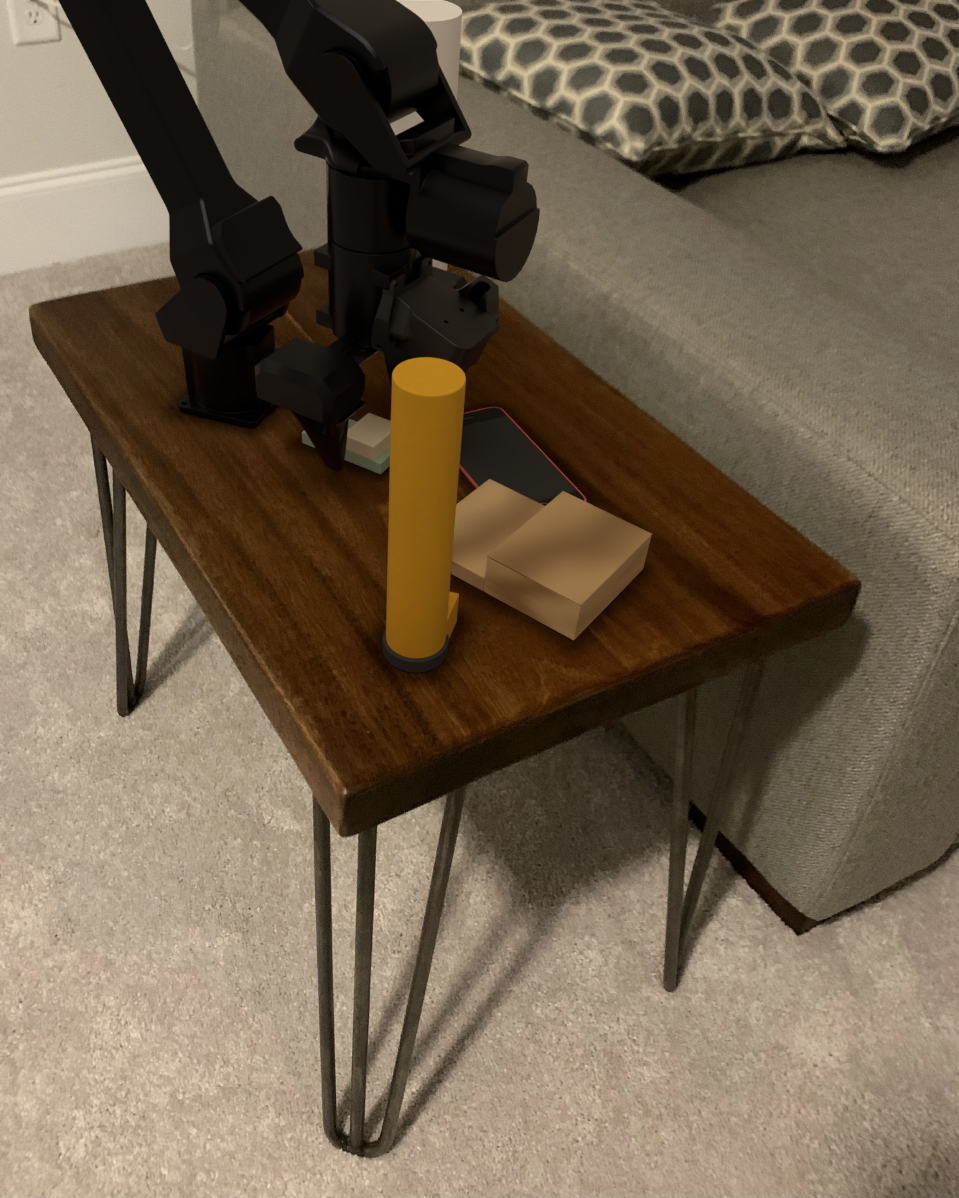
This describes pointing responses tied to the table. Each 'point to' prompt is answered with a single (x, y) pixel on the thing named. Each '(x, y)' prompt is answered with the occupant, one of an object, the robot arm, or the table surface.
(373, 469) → the two-tone stepped block
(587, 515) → the flat tan slab box
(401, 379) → the tall yellow cylinder post
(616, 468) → the table surface
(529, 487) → the smartphone
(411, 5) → the cylindrical container
